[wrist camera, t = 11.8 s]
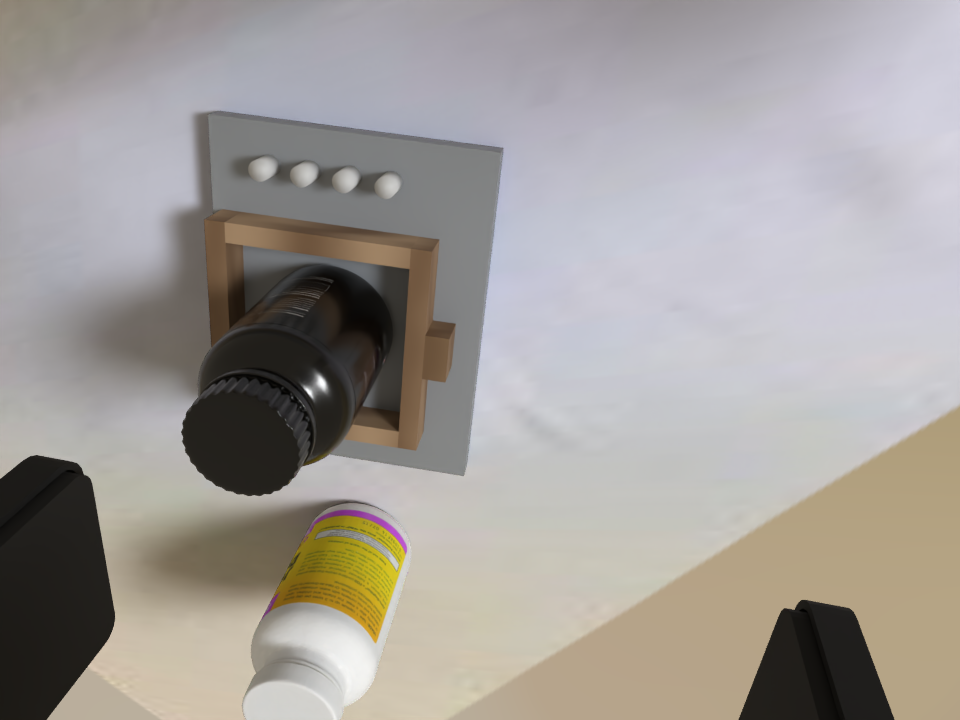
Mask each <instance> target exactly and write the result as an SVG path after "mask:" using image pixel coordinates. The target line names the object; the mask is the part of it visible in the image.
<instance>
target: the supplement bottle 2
mask: <svg viewBox="0 0 960 720" xmlns="http://www.w3.org/2000/svg"><path fill="white" fill-rule="evenodd" d="M410 562H411V545H410V542H409V539H408V536H407V534H406V532H405V531H404V529H403V528H402V526H401V525H400V524H399V523H398V522H397V521H396V520H395V519H394V518H393V517H391V516H390V515H389V514H387V513H386V512H384V511H382V510H380V509H378V508H375V507H373V506H370V505H366V504H359V503H345V504H340V505H336V506H333V507H330V508H328V509H326V510H325V511H323V512H322V513H321V514H319V515H318V516H317V517H316V518H315V519H314V521H313V522H312V524H311V525H310V527H309V529H308V531H307V532H306V534H305V536H304V538H303V540H302V542H301V544H300V546H299V548H298V550H297V552H296V553H295V555H294V557H293V559H292V561H291V563H290V565H289V567H288V569H287V571H286V573H285V575H284V577H283V579H282V581H281V583H280V585H279V586H278V588H277V590H276V592H275V594H274V596H273V598H272V600H271V602H270V604H269V606H268V608H267V610H266V612H265V613H264V615H263V617H262V619H261V621H260V623H259V625H258V627H257V629H256V631H255V633H254V636H253V639H252V644H251V658H252V663H253V667H254V669H255V672H256V674H255V675H254V677H253V678H252V681H251V683H250V685H249V687H248V689H247V691H246V693H245V696H244V698H243V703H242V709H243V714H244V717H245V719H246V720H341V717H342V715H343V710H344V707H346V706H348V705H350V704H352V703H354V702H355V701H357V700H358V699H359V698H361V697H362V696H363V695H364V694H365V693H366V691H367V690H368V689H369V687H370V686H371V684H372V682H373V680H374V677H375V675H376V671H377V668H378V666H379V663H380V659H381V656H382V653H383V649H384V646H385V643H386V640H387V636H388V633H389V630H390V627H391V624H392V621H393V617H394V614H395V611H396V608H397V605H398V602H399V599H400V595H401V592H402V589H403V586H404V583H405V580H406V576H407V573H408V569H409V566H410Z"/></svg>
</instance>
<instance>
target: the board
mask: <svg viewBox="0 0 960 720" xmlns="http://www.w3.org/2000/svg"><path fill="white" fill-rule="evenodd" d="M208 128H209V147H210V166H211V185H212V204H213V214H215V213H216V212H218V211H220V210H222V209H225V210H232V211H239V212H246V213H254V214H261V215H268V216H275V217H282V218H289V219H296V220H304V221H311V222H318V223H325V224H332V225H339V226H346V227H354V228H361V229H368V230H375V231H382V232H389V233H396V234H404V235H411V236H418V237H425V238H432V239H439V252H438V264H437V276H436V288H435V300H434V312H433V320H434V321H441V322H448V323H455V324H456V327H455V338H454V348H453V358H452V366H451V369H450V372H449V374H448V377H447V380H446V382H445V383H444V382H438V381H431V380H428V384H427V396H426V408H425V420H424V432H423V434H422V437H421V440H420V442H419V445H418V447H417V450H416V451H414V450H408V449H402V448H395V447H389V446H383V445H377V444H370V443H364V442H358V441H352V440H345V439H344V440H343V441H342V443H341V444H340V445H339V446H338V447H337V448H336V449H335V450H334V451H333V452H332V453H331V454H330V455H337V456H343V457H349V458H355V459H361V460H368V461H374V462H380V463H386V464H392V465H398V466H405V467H411V468H417V469H423V470H429V471H436V472H442V473H448V474H454V475H460V476H464V474H465V470H466V466H467V460H468V451H469V443H470V434H471V425H472V417H473V408H474V399H475V391H476V382H477V373H478V365H479V356H480V347H481V339H482V330H483V321H484V313H485V304H486V295H487V287H488V278H489V269H490V261H491V252H492V243H493V235H494V226H495V217H496V209H497V200H498V192H499V183H500V174H501V166H502V157H503V148H499V147H491V146H483V145H476V144H468V143H460V142H453V141H445V140H437V139H430V138H422V137H414V136H407V135H399V134H392V133H384V132H376V131H369V130H361V129H353V128H346V127H338V126H330V125H323V124H315V123H307V122H300V121H292V120H284V119H277V118H269V117H261V116H254V115H246V114H239V113H231V112H223V111H217V112H214V113H210V114H208ZM243 261H244V289H245V314H246V313H247V312H248V311H249V310H250V309H251V308H252V307H253V306H254V305H255V304H256V303H257V302H258V301H259V300H260V299H261V298H262V297H263V296H264V295H265V294H266V293H267V292H268V291H269V290H270V289H271V288H273V287H274V286H275V285H276V284H277V283H278V282H279V281H280V280H281V279H283V278H284V277H285V276H287V275H288V274H290V273H291V272H293V271H295V270H298V269H300V268H303V267H307V266H313V265H331V266H336V267H340V268H343V269H346V270H349V271H351V272H353V273H355V274H357V275H358V276H360V277H362V278H363V279H364V280H366V281H367V282H368V283H369V284H371V285H372V286H373V287H374V288H375V289H376V291H377V292H378V293H379V294H380V296H381V297H382V299H383V300H384V302H385V304H386V306H387V308H388V310H389V313H390V316H391V320H392V326H393V340H392V345H391V349H390V352H389V355H388V357H387V359H386V361H385V363H384V366H383V368H382V369H381V371H380V373H379V375H378V377H377V379H376V381H375V383H374V385H373V387H372V389H371V390H370V392H369V394H368V396H367V398H366V400H365V402H364V404H363V406H365V407H371V408H378V409H384V410H390V411H397V412H400V405H401V390H402V375H403V360H404V345H405V330H406V315H407V300H408V285H409V269H405V268H398V267H391V266H384V265H377V264H370V263H364V262H357V261H350V260H343V259H336V258H329V257H322V256H315V255H308V254H301V253H294V252H287V251H280V250H273V249H266V248H259V247H252V246H245V245H243Z"/></svg>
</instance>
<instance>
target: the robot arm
mask: <svg viewBox="0 0 960 720" xmlns="http://www.w3.org/2000/svg"><path fill="white" fill-rule="evenodd" d="M114 622H115V612H114V606H113V600H112V594H111V589H110V583H109V577H108V572H107V566H106V560H105V554H104V549H103V543H102V537H101V532H100V526H99V520H98V514H97V509H96V503H95V497H94V492H93V486H92V482H91V479H90V478H89V477H88V476H86V475H84V474H83V471H82V468H81V467H80V466H79V465H78V464H77V463H74V462H70V461H65V460H60V459H54V458H49V457H44V456H38V455H35V456H30V457H28V458H27V459H25V460H23V461H22V462H21V463H19V464H18V465H17V466H16V467H15V468H13V469H12V470H11V471H10V472H8V473H7V474H6V475H5V476H3V477H2V478H1V479H0V720H47V718H48V717H49V716H50V714H51V713H52V712H53V710H54V709H55V708H56V707H57V705H58V704H59V703H60V701H61V700H62V699H63V698H64V696H65V695H66V694H67V692H68V691H69V690H70V689H71V687H72V686H73V685H74V683H75V682H76V681H77V679H78V678H79V677H80V676H81V674H82V673H83V672H84V670H85V669H86V668H87V667H88V665H89V664H90V663H91V661H92V660H93V659H94V657H95V656H96V655H97V654H98V652H99V651H100V650H101V648H102V647H103V646H104V645H105V643H106V642H107V640H108V639H109V637H110V635H111V632H112V630H113V626H114ZM739 720H894V717H893V715H892V712H891V709H890V706H889V704H888V701H887V698H886V696H885V693H884V690H883V688H882V685H881V682H880V679H879V677H878V674H877V671H876V669H875V666H874V663H873V661H872V658H871V655H870V652H869V650H868V647H867V644H866V642H865V639H864V636H863V634H862V631H861V628H860V625H859V623H858V620H857V618H856V616H855V614H854V612H853V611H852V610H851V609H849V608H845V607H840V606H834V605H829V604H824V603H819V602H813V601H808V600H801V601H800V602H799V603H798V604H797V606H796V608H795V610H792V609H786V608H784V609H783V610H782V611H781V613H780V615H779V617H778V620H777V622H776V625H775V627H774V630H773V632H772V635H771V638H770V640H769V643H768V645H767V648H766V651H765V653H764V656H763V658H762V661H761V664H760V666H759V669H758V671H757V674H756V676H755V679H754V681H753V684H752V687H751V689H750V692H749V694H748V697H747V700H746V702H745V705H744V707H743V710H742V712H741V715H740V717H739Z"/></svg>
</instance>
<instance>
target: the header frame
mask: <svg viewBox="0 0 960 720" xmlns="http://www.w3.org/2000/svg"><path fill="white" fill-rule="evenodd" d="M204 226H205V244H206V261H207V278H208V295H209V312H210V329H211V346H212V347H213V346H214V344H215V343H216V342H217V341H218V340H219V339H220V338H221V337H222V336H223V335H224V334H225V333H226V332H227V331H228V330H229V329H230V328H231V327H232V326H233V325H234V324H235V323H236V322H237V321H238V320H239V319H241V318H242V317H243V316H244V315H245V289H244V261H243V245H245V246H252V247H259V248H266V249H273V250H280V251H287V252H294V253H301V254H308V255H315V256H322V257H329V258H336V259H343V260H350V261H357V262H364V263H370V264H377V265H384V266H391V267H398V268H405V269H409V285H408V300H407V315H406V330H405V345H404V360H403V375H402V390H401V405H400V412H397V411H390V410H384V409H378V408H371V407H365V406H362V408H361V410H360V411H359V413H358V415H357V417H356V419H355V421H354V423H353V425H352V427H351V429H350V430H349V432H348V434H347V435H346V437H345V438H344V439H345V440H352V441H358V442H364V443H370V444H377V445H383V446H389V447H395V448H402V449H408V450H414V451H416V450H417V447H418V445H419V442H420V440H421V437H422V434H423V432H424V420H425V408H426V396H427V384H428V380H431V381H438V382H444V383H445V382H446V380H447V377H448V374H449V372H450V369H451V366H452V358H453V348H454V338H455V327H456V324H455V323H448V322H441V321H434V320H433V312H434V300H435V288H436V276H437V264H438V252H439V239H432V238H425V237H418V236H411V235H404V234H396V233H389V232H382V231H375V230H368V229H361V228H354V227H346V226H339V225H332V224H325V223H318V222H311V221H304V220H296V219H289V218H282V217H275V216H268V215H261V214H254V213H246V212H239V211H232V210H225V209H222V210H220V211H218V212H216V213H215V214H213V215H211V216H209V217H208V218H206V219H204Z"/></svg>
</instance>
